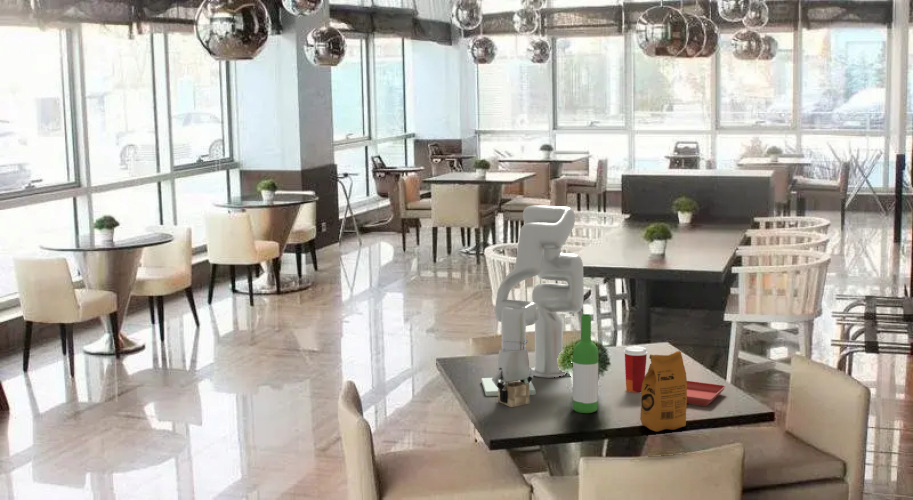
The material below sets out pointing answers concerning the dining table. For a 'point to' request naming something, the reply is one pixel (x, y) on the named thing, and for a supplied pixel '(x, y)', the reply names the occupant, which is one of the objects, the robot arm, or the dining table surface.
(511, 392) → the maple collar
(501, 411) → the dining table surface
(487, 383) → the post board
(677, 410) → the coffee package
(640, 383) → the paper cup
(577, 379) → the wine bottle
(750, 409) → the dining table surface
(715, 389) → the plant saucer
